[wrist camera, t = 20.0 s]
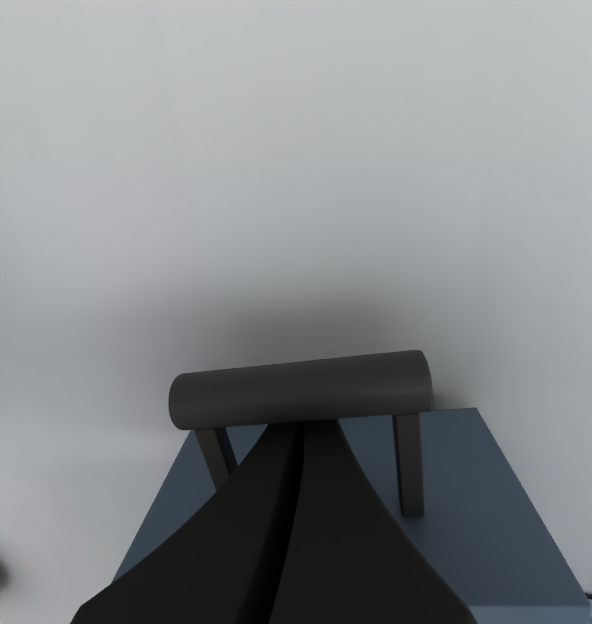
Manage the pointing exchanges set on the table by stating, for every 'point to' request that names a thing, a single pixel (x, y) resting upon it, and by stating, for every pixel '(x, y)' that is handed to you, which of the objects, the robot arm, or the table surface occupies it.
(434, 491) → the drawer
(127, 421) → the table surface
